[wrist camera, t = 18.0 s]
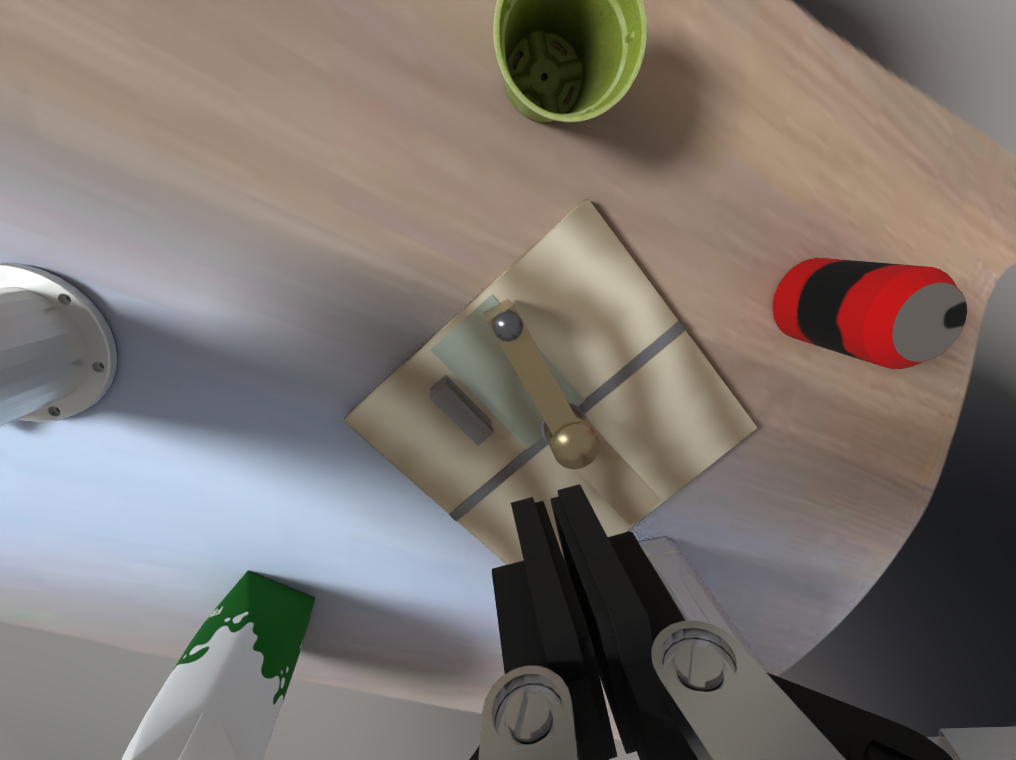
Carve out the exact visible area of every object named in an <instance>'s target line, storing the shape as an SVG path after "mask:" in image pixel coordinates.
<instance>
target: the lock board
mask: <svg viewBox="0 0 1016 760" xmlns="http://www.w3.org/2000/svg"><path fill="white" fill-rule="evenodd" d="M506 299H509V300H510V301H511V302H512V303H513V304H514V306H515V308H516V309H517V311H518V313H519V315H520V317H521V319H522V320H523V322H524V324H525V326H526V328H527V329H528V331H529V333H530V335H531V337H532V338H533V340H534V342H535V344H536V346H537V347H538V349H539V351H540V353H541V355H542V357H543V358H544V360H545V362H546V364H547V366H548V367H549V369H550V371H551V373H552V375H553V376H554V378H555V380H556V382H557V384H558V385H559V387H560V389H561V391H562V393H563V395H564V396H565V398H566V400H567V402H568V404H569V405H570V407H571V408H573V409H576V410H578V411H579V412H580V413H581V414H582V415H583V416H584V418H585V419H586V420H587V422H588V423H589V425H590V426H591V427H592V429H593V430H594V431H595V433H596V434H597V436H598V438H599V441H600V450H599V453H598V455H597V457H596V459H595V460H594V461H593V462H592V463H591V464H589V465H588V466H586V467H584V468H581V469H568V468H565V467H563V466H561V465H560V464H559V463H558V462H557V460H556V459H555V457H554V455H553V452H552V450H551V448H550V446H549V444H548V442H547V440H546V437H545V435H544V424H545V421H544V419H543V417H542V416H541V414H540V412H539V410H538V409H537V407H536V405H535V404H534V402H533V400H532V398H531V397H530V395H529V393H528V392H527V390H526V388H525V386H524V385H523V383H522V381H521V379H520V378H519V376H518V374H517V373H516V371H515V369H514V367H513V366H512V364H511V362H510V361H509V359H508V357H507V355H506V354H505V352H504V350H503V349H502V347H501V345H500V343H499V342H498V340H497V338H496V336H495V335H494V333H493V331H492V330H491V328H490V326H489V324H488V323H487V321H486V318H485V316H484V314H483V313H484V312H485V311H487V310H489V309H490V308H492V307H494V306H496V305H497V304H499V303H501V302H503V301H504V300H506ZM343 421H345V422H346V423H347V424H348V425H349V426H350V427H351V428H352V429H354V430H355V431H356V432H357V433H358V434H359V435H360V436H362V437H363V438H364V439H365V440H366V441H367V442H368V443H369V444H371V445H372V446H373V447H374V448H375V449H376V450H377V451H379V452H380V453H381V454H382V455H383V456H384V457H385V458H386V459H388V460H389V461H390V462H391V463H392V464H393V465H394V466H395V467H397V468H398V469H399V470H400V471H401V472H402V473H403V474H405V475H406V476H407V477H408V478H409V479H410V480H411V481H412V482H414V483H415V484H416V485H417V486H418V487H419V488H420V489H422V490H423V491H424V492H425V493H426V494H427V495H428V496H429V497H431V498H432V499H433V500H434V501H435V502H436V503H437V504H439V505H440V506H441V507H442V508H443V509H444V510H445V511H446V512H448V513H449V515H450V516H451V517H452V518H453V519H454V520H455V521H458V522H459V523H460V524H461V525H462V526H463V527H465V528H466V529H467V530H468V531H469V532H470V533H471V534H473V535H474V536H475V537H476V538H477V539H478V540H479V541H480V542H482V543H483V544H484V545H485V546H486V547H487V548H488V549H490V550H491V551H492V552H493V553H494V554H495V555H496V556H497V557H499V558H500V559H501V560H502V561H503V562H504V563H505V564H507V565H508V564H512V563H516V562H519V561H523V555H522V551H521V546H520V542H519V538H518V533H517V529H516V524H515V520H514V516H513V511H512V507H511V502H515V501H519V500H522V499H526V498H530V497H533V499H534V502H535V503H536V502H539V501H544V504H545V506H546V509H547V512H548V515H549V518H550V521H551V524H552V526H553V529H554V532H555V535H556V538H557V541H558V543H559V546H560V549H561V552H562V548H561V544H560V540H559V535H558V531H557V527H556V522H555V518H554V514H553V509H552V505H551V500H550V499H551V498H554V497H558V492H557V490H560V489H563V488H567V487H571V486H574V485H578V484H580V485H581V487H582V489H583V490H584V492H585V494H586V496H587V498H588V500H589V502H590V504H591V506H592V508H593V510H594V512H595V514H596V516H597V518H598V520H599V521H600V523H601V525H602V527H603V529H604V531H605V533H606V535H607V537H610V536H614V535H617V534H621V533H625V532H627V531H628V530H629V529H630V528H632V527H633V526H634V525H635V524H637V523H638V522H639V521H641V520H642V519H643V518H644V517H646V516H647V515H648V514H649V513H651V512H652V511H653V510H654V509H656V508H657V507H658V506H659V505H661V504H662V503H663V502H665V501H666V500H667V499H668V498H670V497H671V496H672V495H673V494H675V493H676V492H677V491H678V490H680V489H681V488H682V487H683V486H685V485H686V484H687V483H689V482H690V481H691V480H692V479H694V478H695V477H696V476H697V475H699V474H700V473H701V472H702V471H704V470H705V469H706V468H708V467H709V466H710V465H711V464H713V463H714V462H715V461H716V460H718V459H719V458H720V457H721V456H723V455H724V454H725V453H726V452H728V451H729V450H730V449H732V448H733V447H734V446H735V445H737V444H738V443H739V442H740V441H742V440H743V439H744V438H745V437H747V436H748V435H749V434H750V433H752V432H753V431H754V430H756V429H757V426H756V425H755V424H754V422H753V421H752V420H751V418H750V417H749V416H748V414H747V413H746V412H745V410H744V409H743V408H742V406H741V405H740V403H739V402H738V401H737V399H736V398H735V397H734V395H733V394H732V393H731V391H730V390H729V389H728V387H727V386H726V384H725V383H724V382H723V380H722V379H721V378H720V376H719V375H718V374H717V372H716V371H715V370H714V368H713V367H712V366H711V364H710V363H709V361H708V360H707V359H706V357H705V356H704V355H703V353H702V352H701V351H700V349H699V348H698V347H697V345H696V344H695V342H694V341H693V340H692V338H691V337H690V336H689V334H688V333H687V332H686V330H685V328H684V327H683V325H682V324H681V323H680V321H678V319H677V318H676V317H675V315H674V314H673V313H672V311H671V310H670V309H669V307H668V306H667V305H666V303H665V302H664V300H663V299H662V298H661V296H660V295H659V294H658V292H657V291H656V290H655V288H654V287H653V286H652V284H651V283H650V282H649V280H648V279H647V277H646V276H645V275H644V273H643V272H642V271H641V269H640V268H639V267H638V265H637V264H636V263H635V261H634V260H633V258H632V257H631V256H630V254H629V253H628V252H627V250H626V249H625V248H624V246H623V245H622V244H621V242H620V241H619V240H618V238H617V237H616V235H615V234H614V233H613V231H612V230H611V229H610V227H609V226H608V225H607V223H606V222H605V221H604V219H603V218H602V216H601V215H600V214H599V212H598V211H597V210H596V208H595V207H594V206H593V204H592V203H591V202H590V200H589V199H585V200H583V201H582V202H581V203H580V204H579V205H578V206H577V207H576V208H575V209H573V210H572V211H571V212H570V213H569V214H568V215H567V216H566V217H565V218H564V219H562V220H561V221H560V222H559V223H558V224H557V225H556V226H555V227H554V228H552V229H551V230H550V231H549V232H548V233H547V234H546V235H545V236H544V237H543V238H541V239H540V240H539V241H538V242H537V243H536V244H535V245H534V246H533V247H532V248H530V249H529V250H528V251H527V252H526V253H525V254H524V255H523V256H522V257H520V258H519V259H518V260H517V261H516V262H515V263H514V264H513V265H512V266H511V267H509V268H508V269H507V270H506V271H505V272H504V273H503V274H502V275H501V276H499V277H498V278H497V279H496V280H495V281H494V282H493V283H492V284H491V285H490V286H488V287H487V288H486V289H485V290H484V291H483V292H482V293H481V294H480V295H479V296H477V297H476V298H475V299H474V300H473V301H472V302H471V303H470V304H469V305H467V306H466V307H465V308H464V309H463V310H462V311H461V312H460V313H459V314H458V315H456V316H455V317H454V318H453V319H452V320H451V321H450V322H449V323H448V324H447V325H445V326H444V327H443V328H442V329H441V330H440V331H439V332H438V333H437V334H435V335H434V336H433V337H432V338H431V339H430V340H429V341H428V342H427V343H426V344H424V345H423V346H422V347H421V348H420V349H419V350H418V351H417V352H416V353H414V354H413V355H412V356H411V357H410V358H409V359H408V360H407V361H406V362H405V363H403V364H402V365H401V366H400V367H399V368H398V369H397V370H396V371H395V372H394V373H392V374H391V375H390V376H389V377H388V378H387V379H386V380H385V381H384V382H382V383H381V384H380V385H379V386H378V387H377V388H376V389H375V390H374V391H373V392H371V393H370V394H369V395H368V396H367V397H366V398H365V399H364V400H363V401H361V402H360V403H359V404H358V405H357V406H356V407H355V408H354V409H353V410H352V411H350V412H349V413H348V414H347V415H346V417H345V418H344V420H343ZM562 555H563V553H562ZM563 558H564V557H563Z"/></svg>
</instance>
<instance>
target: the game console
mask: <svg viewBox="0 0 1016 760" xmlns="http://www.w3.org/2000/svg"><path fill="white" fill-rule="evenodd" d="M638 543H639V544H640V546H641V548H642V549H643V551H644V553H645V554H646V556H647V557H648V559H649V561H650V562H651V564H652V566H653V567H654V569H655V571H656V572H657V574H658V576H659V577H660V579H661V581H662V582H663V584H664V586H665V587H666V589H667V591H668V592H669V594H670V595H671V597H672V599H673V600H674V602H675V604H676V605H677V607H678V609H679V610H680V612H681V614H682V615H683V617H684V619H685V620H686V621H701V622H705V623H709V624H713V625H715V626H717V627H719V628H721V629H723V630H725V631H726V632H727V633H728V634H730V635H731V636H732V637H733V638H734V639H735V640H737V642H738V643H739V644H740V645H741V646H742V647H743V648H744V649H745V650H746V651H747V652H748V654H749V655H750V656H751V657H752V658H753V659H754V660H755V661H756V662H757V663H758V664H759V666H760V667H761V668H762V669H763V670H764V671H765V672H767V673H769V672H768V671H767V670H766V668H765V667H764V666H763V664H762V663H761V661H760V660H759V659H758V657H757V656H756V654H755V653H754V652H753V650H752V649H751V647H750V646H749V645H748V643H747V642H746V641H745V639H744V638H743V636H742V635H741V634H740V632H739V631H738V629H737V628H736V627H735V625H734V624H733V623H732V621H731V620H730V618H729V617H728V616H727V614H726V613H725V611H724V610H723V609H722V607H721V606H720V605H719V603H718V602H717V600H716V599H715V598H714V596H713V595H712V593H711V592H710V591H709V589H708V588H707V586H706V585H705V584H704V582H703V581H702V580H701V578H700V577H699V575H698V574H697V573H696V571H695V570H694V568H693V567H692V566H691V564H690V563H689V562H688V560H687V559H686V557H685V556H684V555H683V553H682V552H681V550H680V549H679V548H678V546H677V545H676V543H675V542H673V541H672V540H670V539H668V538H666V537H661V538H656V539H651V540H646V541H641V542H638Z"/></svg>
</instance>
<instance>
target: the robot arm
mask: <svg viewBox="0 0 1016 760" xmlns="http://www.w3.org/2000/svg"><path fill="white" fill-rule="evenodd" d="M116 368H117V352H116V345H115V341H114V338H113V335H112V332H111V330H110V327H109V326H108V324H107V322H106V320H105V319H104V317H103V315H102V314H101V312H100V311H99V310H98V309H97V308H96V306H95V305H94V304H93V303H92V302H91V300H90V299H88V298H87V297H86V296H85V295H84V294H83V293H82V292H80V291H79V290H78V289H77V288H76V287H74V286H73V285H71V284H69V283H68V282H66V281H65V280H63V279H62V278H60V277H58V276H56V275H53V274H51V273H49V272H47V271H44V270H42V269H38V268H35V267H31V266H28V265H22V264H14V263H0V426H1V425H3V424H6V423H8V422H10V421H12V420H15V419H18V420H23V421H35V422H45V421H56V420H60V419H64V418H68V417H71V416H73V415H76V414H78V413H80V412H82V411H84V410H86V409H87V408H89V407H91V406H92V405H94V404H95V403H97V402H98V401H99V400H100V399H101V398H102V397H103V396H104V395H105V394H106V392H107V391H108V389H109V387H110V386H111V384H112V382H113V379H114V376H115V373H116ZM557 492H558V497H554V498H551V499H550V500H551V505H552V509H553V514H554V518H555V522H556V527H557V531H558V535H559V540H560V544H561V548H562V552H561V549H560V546H559V543H558V541H557V538H556V535H555V532H554V529H553V526H552V524H551V521H550V518H549V515H548V512H547V509H546V506H545V504H544V501H539V502H536V503H535V502H534V499H533V497H530V498H526V499H522V500H519V501H515V502H511V507H512V511H513V516H514V520H515V524H516V529H517V533H518V538H519V542H520V546H521V551H522V555H523V561H519V562H516V563H512V564H508V565H505V566H501V567H497V568H494V569H492V577H493V585H494V593H495V601H496V609H497V616H498V624H499V632H500V640H501V648H502V656H503V663H504V671H505V675H504V676H502V677H501V678H500V679H499V680H498V681H497V682H496V683H495V684H494V685H493V686H492V688H491V690H490V691H489V693H488V695H487V697H486V699H485V703H484V707H483V711H482V721H481V722H482V723H481V734H480V745H479V747H478V748H477V750H476V751H475V753H474V754H473V756H472V757H471V758H470V760H609V759H611V758H615V757H617V752H616V748H615V744H614V739H613V734H612V730H611V725H610V721H609V716H608V712H607V708H606V703H605V699H604V694H603V690H602V685H603V688H604V691H605V693H606V696H607V699H608V702H609V705H610V708H611V711H612V714H613V717H614V720H615V723H616V726H617V729H618V732H619V735H620V738H621V741H622V744H623V746H624V749H625V752H626V754H628V753H632V752H635V751H637V753H638V756H639V759H640V760H1016V727H995V728H994V727H993V728H957V729H940V733H939V737H925V736H924V735H922V734H920V733H918V732H916V731H914V730H912V729H910V728H908V727H906V726H904V725H901V724H899V723H896V722H893V721H891V720H888V719H885V718H883V717H880V716H878V715H875V714H873V713H870V712H867V711H865V710H862V709H860V708H857V707H855V706H852V705H849V704H847V703H844V702H842V701H839V700H837V699H834V698H831V697H829V696H826V695H823V694H821V693H818V692H816V691H813V690H811V689H808V688H805V687H803V686H800V685H798V684H795V683H793V682H790V681H787V680H785V679H782V678H780V677H777V676H774V675H772V674H769V673H767V672H765V671H764V670H763V669H762V668H761V667H760V666H759V664H758V663H757V662H756V661H755V660H754V659H753V658H752V657H751V656H750V655H749V654H748V652H747V651H746V650H745V649H744V648H743V647H742V646H741V645H740V644H739V643H738V642H737V640H735V639H734V638H733V637H732V636H731V635H730V634H728V633H727V632H726V631H725V630H723V629H721V628H719V627H717V626H715V625H713V624H709V623H705V622H701V621H686V620H685V619H684V617H683V615H682V614H681V612H680V610H679V609H678V607H677V605H676V604H675V602H674V600H673V599H672V597H671V595H670V594H669V592H668V591H667V589H666V587H665V586H664V584H663V582H662V581H661V579H660V577H659V576H658V574H657V572H656V571H655V569H654V567H653V566H652V564H651V562H650V561H649V559H648V557H647V556H646V554H645V553H644V551H643V549H642V548H641V546H640V544H639V543H638V541H637V539H636V538H635V536H634V535H633V533H632V532H630V531H628V532H625V533H621V534H617V535H614V536H610V537H607V535H606V533H605V531H604V529H603V527H602V525H601V523H600V521H599V520H598V518H597V516H596V514H595V512H594V510H593V508H592V506H591V504H590V502H589V500H588V498H587V496H586V494H585V492H584V490H583V489H582V487H581V485H580V484H578V485H574V486H571V487H567V488H563V489H560V490H557ZM562 553H563V555H562ZM563 557H564V558H563ZM600 679H601V681H600ZM601 682H602V685H601Z"/></svg>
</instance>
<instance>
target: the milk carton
mask: <svg viewBox="0 0 1016 760" xmlns="http://www.w3.org/2000/svg"><path fill="white" fill-rule="evenodd" d="M314 600H315V598H314V597H311V596H309V595H306V594H304V593H301V592H299V591H297V590H294V589H292V588H289V587H287V586H284V585H282V584H279V583H277V582H274V581H272V580H269V579H267V578H264V577H262V576H259V575H257V574H255V573H252V572H250V571H247V572H246V573H245V575H244V576H243V577H242V578H241V579H240V580H239V582H238V583H237V584H236V585H235V586H234V588H233V589H232V590H231V591H230V592H229V593H228V595H227V596H226V597H225V598H224V599H223V601H222V602H221V603H220V604H219V605H218V606H217V608H216V609H215V610H214V611H213V612H212V614H211V615H210V616H209V617H208V618H207V620H206V621H205V622H204V624H203V625H202V626H201V628H200V629H199V631H198V632H197V634H196V635H195V637H194V638H193V639H192V641H191V642H190V644H189V645H188V647H187V649H186V650H185V652H184V653H183V655H182V657H181V658H180V660H179V661H178V663H177V665H176V666H175V668H174V670H173V671H172V673H171V674H170V676H169V678H168V679H167V681H166V682H165V684H164V686H163V687H162V689H161V690H160V692H159V694H158V695H157V697H156V698H155V700H154V702H153V703H152V705H151V707H150V708H149V710H148V711H147V713H146V715H145V717H144V718H143V720H142V722H141V724H140V726H139V728H138V730H137V732H136V734H135V736H134V737H133V739H132V740H131V742H130V744H129V746H128V748H127V750H126V752H125V754H124V756H123V758H122V760H263V757H264V755H265V752H266V749H267V746H268V743H269V741H270V738H271V735H272V732H273V729H274V726H275V723H276V720H277V718H278V715H279V712H280V709H281V706H282V703H283V700H284V697H285V694H286V692H287V689H288V686H289V683H290V680H291V677H292V674H293V672H294V669H295V666H296V663H297V660H298V657H299V654H300V650H301V647H302V643H303V640H304V636H305V632H306V629H307V625H308V621H309V618H310V614H311V611H312V607H313V603H314Z"/></svg>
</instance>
